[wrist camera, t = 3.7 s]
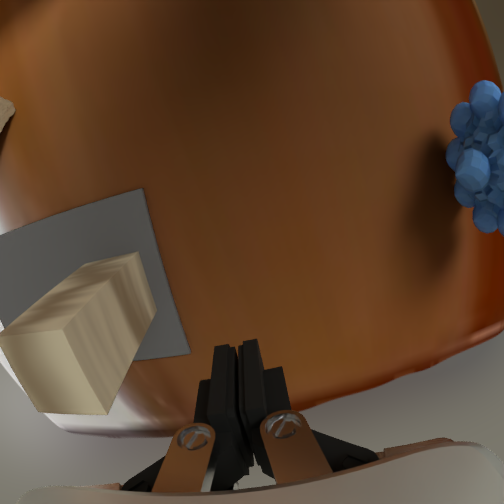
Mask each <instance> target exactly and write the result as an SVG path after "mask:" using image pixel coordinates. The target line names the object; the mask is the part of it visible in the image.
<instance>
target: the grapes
mask: <svg viewBox="0 0 504 504" xmlns="http://www.w3.org/2000/svg"><path fill="white" fill-rule="evenodd" d="M450 125H451V128H452V130H453V132H454V133H455V135H456V136H458V137H457V138H455V139H452V141H451V142H450V143H449V144H448V146H447V150H446V161H447V163H448V165H449V167H450V168H451V169H452V170H454V171H455V176H456V179H457V180H456V183H455V186H454V195H455V198H456V199H457V201H458V202H459V203H460V204H461V205H462V206H465V207H467V208H471V207H474V209H473V218H472V219H473V222H474V224H475V226H476V227H477V228H478V229H479V230H480V231H482V232H484V233H491V232H494V231H495V230H496V229H497V228H498V229H499V232H500V233H501V234H502V235H503V236H504V92H503V93H502V94H501V92H500V89H499V88H498V87H497V86H496V85H495V84H494V83H493V82H490V81H486V80H482V81H480V82H478V83H475V85H474V86H473V88H472V89H471V91H470V95H469V103H465V102H462V103H460V104H457V105H456V106H455V108H454V109H453V110H452V113H451V117H450Z"/></svg>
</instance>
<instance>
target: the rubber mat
mask: <svg viewBox="0 0 504 504" xmlns="http://www.w3.org/2000/svg"><path fill="white" fill-rule="evenodd" d="M138 251H139V255H140V258H141V262H142V265H143V268H144V271H145V275H146V278H147V281H148V284H149V287H150V290H151V293H152V296H153V299H154V302H155V305H156V308H157V312H156V314H155V316H154V318H153V320H152V322H151V324H150V326H149V328H148V330H147V332H146V334H145V336H144V338H143V340H142V342H141V344H140V346H139V348H138V350H137V352H136V354H135V356H134V358H133V360H132V361H137V360H146V359H155V358H163V357H171V356H178V355H185V354H190V353H191V350H190V347H189V344H188V341H187V338H186V336H185V333H184V330H183V327H182V324H181V321H180V318H179V315H178V312H177V308H176V305H175V302H174V299H173V296H172V293H171V289H170V286H169V283H168V279H167V276H166V273H165V269H164V266H163V263H162V259H161V256H160V252H159V248H158V245H157V241H156V237H155V234H154V230H153V226H152V222H151V219H150V215H149V211H148V207H147V203H146V198H145V194H144V190H143V188H141V189H137V190H134V191H130V192H127V193H123V194H120V195H116V196H113V197H109V198H106V199H103V200H100V201H96V202H93V203H90V204H87V205H84V206H81V207H77V208H74V209H71V210H68V211H65V212H62V213H59V214H56V215H54V216H51V217H48V218H45V219H42V220H39V221H37V222H34V223H31V224H28V225H26V226H23V227H20V228H18V229H15V230H13V231H10V232H7V233H5V234H2V235H0V320H1V322H2V324H3V326H4V329H5V328H6V327H7V326H9V325H10V324H11V323H12V322H13V321H14V320H15V319H17V318H18V317H19V316H20V315H21V314H22V313H24V312H25V311H26V310H27V309H28V308H30V307H31V306H32V305H33V304H34V303H36V302H37V301H38V300H39V299H41V298H42V297H43V296H44V295H45V294H47V293H48V292H49V291H50V290H52V289H53V288H54V287H55V286H57V285H58V284H59V283H61V282H62V281H63V280H64V279H66V278H67V277H68V276H70V275H71V274H72V273H73V272H75V271H76V270H77V269H79V268H80V267H81V266H83V265H84V264H86V263H91V262H95V261H99V260H103V259H107V258H112V257H116V256H120V255H125V254H129V253H133V252H138Z"/></svg>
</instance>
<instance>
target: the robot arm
mask: <svg viewBox="0 0 504 504" xmlns="http://www.w3.org/2000/svg"><path fill="white" fill-rule="evenodd" d="M253 453H254V455H255V459H256V461H257V464H258V465H260V466H261V469H262V472H263V473H264V474H266V475H268V476H270V477H272V478H274V479H275V481H276V485H269V486H262V487H255V488H247V489H239V483H238V480H240V479H241V478H242V477H243V476H244V475H249V467H252V466H254V458H253ZM16 504H504V463H503V462H502V461H501V460H500V458H499V457H498V456H497V455H495V454H494V453H493V452H492V451H490V449H488V448H487V447H485V446H483V445H481V444H479V443H475V442H467V441H466V442H465V441H457V442H454V441H453V440H451V439H448V438H436V439H432V440H428V441H423V442H418V443H413V444H408V445H402V446H397V447H391V448H384V452H377V453H374V452H373V451H371V450H369V449H367V448H363V447H360V446H357V445H354V444H351V443H348V442H345V441H342V440H339V439H336V438H334V437H331V436H328V435H325V434H322V433H319V432H317V431H315V430H312V429H310V427H309V425H308V423H307V421H306V419H305V418H304V417H303V415H302V414H300V413H299V412H297V411H293V410H291V406H290V401H289V397H288V392H287V387H286V383H285V378H284V373H283V369H282V366H281V367H277V368H272V369H267V370H264V367H263V362H262V358H261V354H260V350H259V345H258V341H257V339H253V340H247V341H243V345H240V346H238V356H237V353H236V349H235V347H230V346H229V344H226V345H220V346H215V347H214V355H213V364H212V373H211V379H207V380H201V381H200V383H199V389H198V396H197V402H196V409H195V416H194V422H193V423H192V424H189V425H186V426H184V427H182V428H180V429H179V430H178V431H177V432H176V433H175V435H174V437H173V439H172V441H171V444H170V446H169V449H168V452H167V454H166V456H164V457H163V458H161V459H160V460H158V461H157V462H155V463H154V464H152V465H151V466H149V467H148V468H146V469H145V470H143V471H142V472H140V473H139V474H137V475H136V476H134V477H132V478H131V479H129V480H128V481H127V482H126V483H125V484H124V485H121V484H120V483H113V484H104V485H92V486H77V487H76V486H48V487H41V488H36V489H33V490H30V491H28V492H26V493H25V494H24V495H22V496H21V497H20V499H19V500H18V501H17V502H16Z"/></svg>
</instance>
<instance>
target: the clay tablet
mask: <svg viewBox="0 0 504 504" xmlns="http://www.w3.org/2000/svg"><path fill="white" fill-rule="evenodd" d="M15 110H16V109H15V108H14V106H13V103H12V102H11V101H8V100H6V99H3V98H2V97H0V132H1V131H2V128H3V127H4V126H5V123H6V122H7V121H8V119H9V117H10V116H12V115H13V114H14V112H15Z"/></svg>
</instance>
